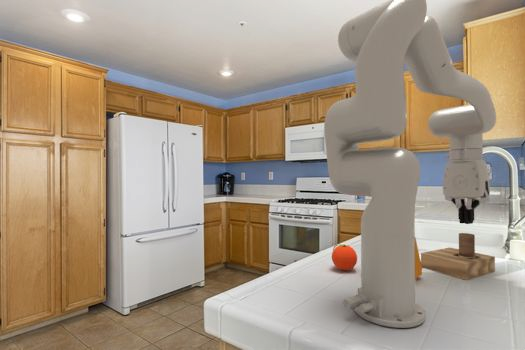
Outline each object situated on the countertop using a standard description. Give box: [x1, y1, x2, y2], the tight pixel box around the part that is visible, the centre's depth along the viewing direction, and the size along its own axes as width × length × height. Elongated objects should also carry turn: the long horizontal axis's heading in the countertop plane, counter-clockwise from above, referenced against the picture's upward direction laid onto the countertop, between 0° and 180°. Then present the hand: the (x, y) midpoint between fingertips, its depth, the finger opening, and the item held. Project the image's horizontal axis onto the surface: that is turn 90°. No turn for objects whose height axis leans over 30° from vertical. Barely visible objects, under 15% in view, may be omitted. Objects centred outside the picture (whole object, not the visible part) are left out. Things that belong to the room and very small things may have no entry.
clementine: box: [331, 243, 358, 271], centre depth 83 cm, size 8×7×7 cm
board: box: [420, 247, 496, 280], centre depth 83 cm, size 14×12×4 cm
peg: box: [458, 232, 476, 259], centre depth 82 cm, size 4×4×10 cm
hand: (466, 223), depth 82 cm, fingers closed
